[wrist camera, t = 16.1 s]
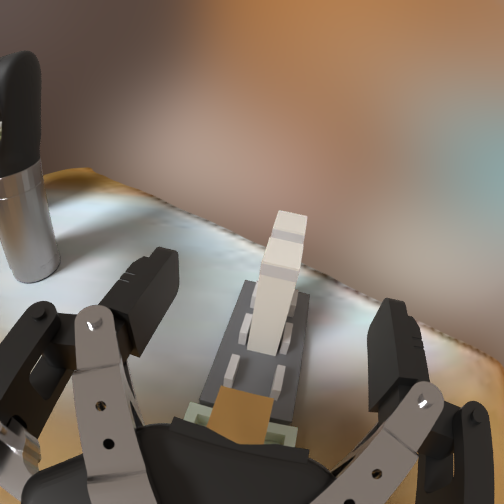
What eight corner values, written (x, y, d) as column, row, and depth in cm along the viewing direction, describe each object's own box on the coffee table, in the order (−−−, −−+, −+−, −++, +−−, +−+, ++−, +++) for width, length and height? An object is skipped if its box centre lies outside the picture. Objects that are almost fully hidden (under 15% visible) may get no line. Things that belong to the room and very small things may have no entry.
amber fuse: (204, 483, 20) (199, 443, 13) (216, 446, 23) (220, 385, 17) (240, 492, 20) (260, 459, 13) (251, 454, 23) (274, 398, 16)
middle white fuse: (246, 349, 32) (261, 261, 25) (254, 323, 35) (269, 236, 29) (275, 356, 32) (300, 269, 25) (281, 329, 35) (303, 244, 28)
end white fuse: (257, 312, 37) (273, 227, 30) (263, 291, 40) (278, 209, 34) (283, 318, 37) (305, 234, 30) (287, 296, 40) (307, 216, 33)
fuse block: (199, 407, 27) (198, 389, 25) (243, 290, 43) (246, 268, 41) (287, 429, 26) (296, 412, 24) (306, 304, 42) (313, 283, 40)
